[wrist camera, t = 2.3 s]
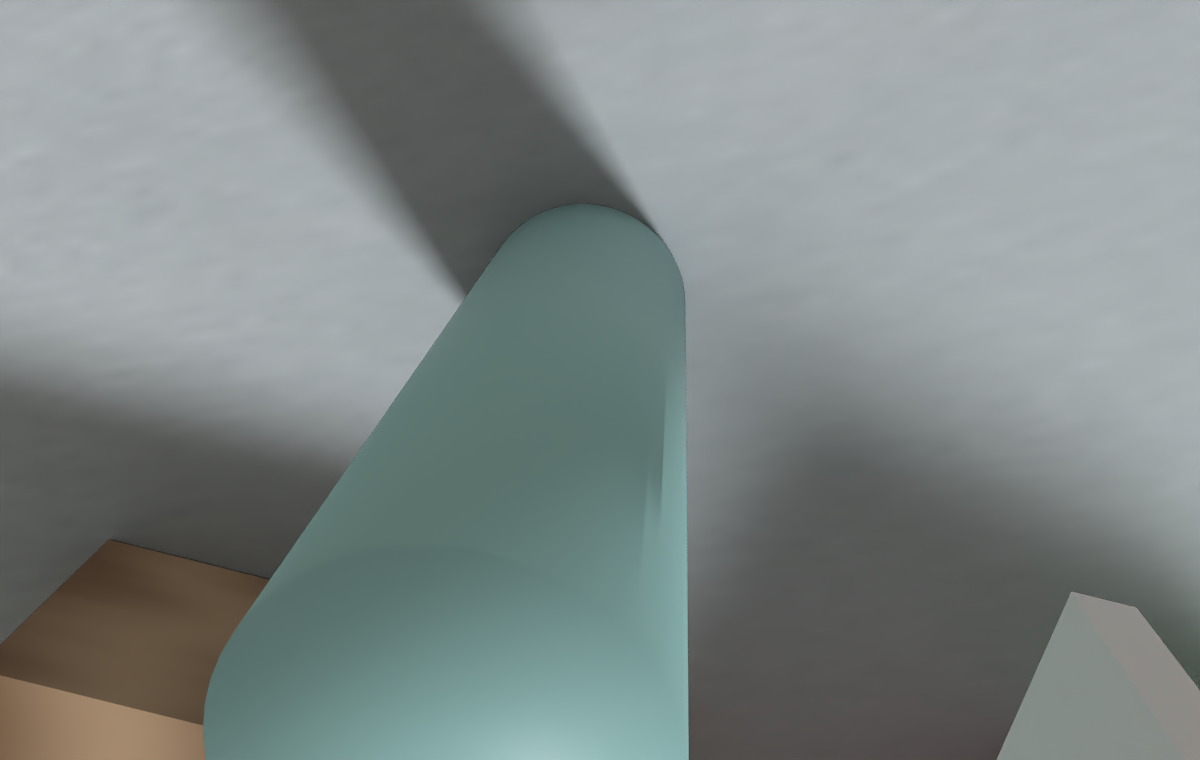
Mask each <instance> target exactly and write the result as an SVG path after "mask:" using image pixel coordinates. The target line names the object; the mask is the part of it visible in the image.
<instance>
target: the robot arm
mask: <svg viewBox="0 0 1200 760" xmlns="http://www.w3.org/2000/svg"><path fill="white" fill-rule="evenodd" d="M997 760H1200V690H1199V689H1198V687H1197V686H1196V685H1195V683H1194V682H1193V681H1192V679H1191V678H1190V677H1189V675H1188V674H1187V673H1186V671H1185V670H1184V669H1183V668H1182V666H1181V665H1180V664H1179V662H1178V661H1177V660H1176V658H1175V657H1174V656H1173V654H1172V653H1171V652H1170V651H1169V649H1168V648H1167V647H1166V645H1165V644H1164V643H1163V641H1162V640H1161V639H1160V637H1159V636H1158V635H1157V634H1156V632H1155V631H1154V630H1153V628H1152V627H1151V626H1150V624H1149V623H1148V622H1147V620H1146V619H1145V618H1144V616H1143V615H1142V614H1141V613H1140V611H1139V610H1138V609H1137V607H1133V606H1129V605H1125V604H1121V603H1117V602H1112V601H1108V600H1104V599H1100V598H1096V597H1092V596H1088V595H1084V594H1080V593H1076V592H1072V591H1071V593H1070V596H1069V598H1068V600H1067V602H1066V605H1065V607H1064V609H1063V611H1062V614H1061V616H1060V618H1059V620H1058V623H1057V625H1056V627H1055V629H1054V632H1053V634H1052V636H1051V638H1050V641H1049V643H1048V645H1047V647H1046V650H1045V652H1044V654H1043V656H1042V659H1041V661H1040V663H1039V665H1038V668H1037V670H1036V672H1035V674H1034V677H1033V679H1032V681H1031V683H1030V686H1029V688H1028V690H1027V692H1026V695H1025V697H1024V699H1023V701H1022V704H1021V706H1020V708H1019V710H1018V713H1017V715H1016V717H1015V719H1014V722H1013V724H1012V726H1011V728H1010V731H1009V733H1008V735H1007V737H1006V740H1005V742H1004V744H1003V746H1002V749H1001V751H1000V753H999V755H998V758H997Z"/></svg>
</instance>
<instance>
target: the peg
mask: <svg viewBox="0 0 1200 760" xmlns="http://www.w3.org/2000/svg"><path fill="white" fill-rule="evenodd" d="M203 737H204V748H205V758H206V760H689V734H688V601H687V467H686V334H685V291H684V286H683V281H682V277H681V274H680V271H679V268H678V265H677V263H676V261H675V259H674V258H673V256H672V254H671V252H670V251H669V249H668V248H667V246H666V245H665V243H664V242H663V241H662V240H661V239H660V238H659V237H658V236H657V234H656V233H655V232H653V231H652V230H651V229H650V228H649V227H648V226H646V225H645V224H644V223H642V222H641V221H639V220H638V219H636V218H634V217H633V216H630V215H628V214H626V213H624V212H622V211H619V210H616V209H613V208H610V207H606V206H601V205H595V204H572V205H565V206H560V207H556V208H553V209H550V210H547V211H544V212H542V213H540V214H538V215H536V216H534V217H532V218H530V219H529V220H528V221H526V222H525V223H523V224H522V225H520V226H519V227H518V228H517V229H516V230H515V231H514V232H513V233H512V234H511V235H510V236H509V237H508V238H507V240H506V241H505V242H504V243H503V244H502V246H501V247H500V249H499V250H498V252H497V253H496V255H495V256H494V257H493V259H492V260H491V262H490V263H489V265H488V266H487V268H486V269H485V270H484V272H483V273H482V275H481V276H480V278H479V279H478V280H477V282H476V283H475V285H474V286H473V288H472V289H471V291H470V292H469V293H468V295H467V296H466V298H465V299H464V301H463V302H462V304H461V305H460V306H459V308H458V309H457V311H456V312H455V314H454V315H453V317H452V318H451V319H450V321H449V322H448V324H447V325H446V327H445V328H444V330H443V331H442V332H441V334H440V335H439V337H438V338H437V340H436V341H435V342H434V344H433V345H432V347H431V348H430V350H429V351H428V353H427V354H426V355H425V357H424V358H423V360H422V361H421V363H420V364H419V366H418V367H417V368H416V370H415V371H414V373H413V374H412V376H411V377H410V379H409V380H408V381H407V383H406V384H405V386H404V387H403V389H402V390H401V391H400V393H399V394H398V396H397V397H396V399H395V400H394V402H393V403H392V404H391V406H390V407H389V409H388V410H387V412H386V413H385V415H384V416H383V417H382V419H381V420H380V422H379V423H378V425H377V426H376V428H375V429H374V430H373V432H372V433H371V435H370V436H369V438H368V439H367V441H366V442H365V443H364V445H363V446H362V448H361V449H360V451H359V452H358V453H357V455H356V456H355V458H354V459H353V461H352V462H351V464H350V465H349V466H348V468H347V469H346V471H345V472H344V474H343V475H342V477H341V478H340V479H339V481H338V482H337V484H336V485H335V487H334V488H333V490H332V491H331V492H330V494H329V495H328V497H327V498H326V500H325V501H324V502H323V504H322V505H321V507H320V508H319V510H318V511H317V513H316V514H315V515H314V517H313V518H312V520H311V521H310V523H309V524H308V526H307V527H306V528H305V530H304V531H303V533H302V534H301V536H300V537H299V539H298V540H297V541H296V543H295V544H294V546H293V547H292V549H291V550H290V552H289V553H288V554H287V556H286V557H285V559H284V560H283V562H282V563H281V564H280V566H279V567H278V569H277V570H276V572H275V573H274V575H273V576H272V577H271V579H270V580H269V582H268V583H267V585H266V586H265V588H264V589H263V590H262V592H261V593H260V595H259V596H258V598H257V599H256V601H255V602H254V603H253V605H252V606H251V608H250V609H249V611H248V612H247V613H246V615H245V616H244V618H243V619H242V621H241V622H240V624H239V625H238V626H237V628H236V629H235V631H234V632H233V634H232V636H231V637H230V639H229V641H228V642H227V644H226V646H225V647H224V649H223V651H222V652H221V654H220V656H219V659H218V661H217V664H216V666H215V669H214V671H213V674H212V676H211V679H210V683H209V687H208V692H207V696H206V701H205V706H204V722H203Z"/></svg>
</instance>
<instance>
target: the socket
mask: <svg viewBox="0 0 1200 760" xmlns="http://www.w3.org/2000/svg"><path fill="white" fill-rule="evenodd" d="M268 582H269V579H265V578H261V577H257V576H253V575H249V574H245V573H241V572H237V571H233V570H229V569H225V568H221V567H217V566H213V565H209V564H205V563H201V562H197V561H193V560H189V559H185V558H181V557H177V556H173V555H169V554H165V553H161V552H157V551H153V550H149V549H145V548H141V547H137V546H133V545H129V544H125V543H121V542H117V541H113V540H108V541H107V542H106V543H105V544H104V545H103V546H102V547H101V548H100V549H99V550H98V551H97V552H96V553H95V554H93V555H92V556H91V557H90V558H89V559H88V560H87V561H86V562H85V563H84V564H83V565H82V566H81V567H80V568H79V569H78V570H77V571H76V572H75V573H74V574H73V575H72V576H71V577H70V578H69V579H68V580H67V581H66V582H65V583H64V584H63V585H61V586H60V587H59V588H58V589H57V590H56V591H55V592H54V593H53V594H52V595H51V596H50V597H49V598H48V599H47V600H46V601H45V602H44V603H43V604H42V605H41V606H40V607H39V608H38V609H37V610H36V611H35V612H34V613H33V614H32V615H31V616H29V617H28V618H27V619H26V620H25V621H24V622H23V623H22V624H21V625H20V626H19V627H18V628H17V629H16V630H15V631H14V632H13V633H12V634H11V635H10V636H9V637H8V638H7V639H6V640H5V641H4V642H3V643H2V644H1V645H0V760H206V758H205V748H204V737H203V722H204V706H205V701H206V696H207V692H208V687H209V683H210V679H211V676H212V674H213V671H214V669H215V666H216V664H217V661H218V659H219V656H220V654H221V652H222V651H223V649H224V647H225V646H226V644H227V642H228V641H229V639H230V637H231V636H232V634H233V632H234V631H235V629H236V628H237V626H238V625H239V624H240V622H241V621H242V619H243V618H244V616H245V615H246V613H247V612H248V611H249V609H250V608H251V606H252V605H253V603H254V602H255V601H256V599H257V598H258V596H259V595H260V593H261V592H262V590H263V589H264V588H265V586H266V585H267V583H268Z"/></svg>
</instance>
